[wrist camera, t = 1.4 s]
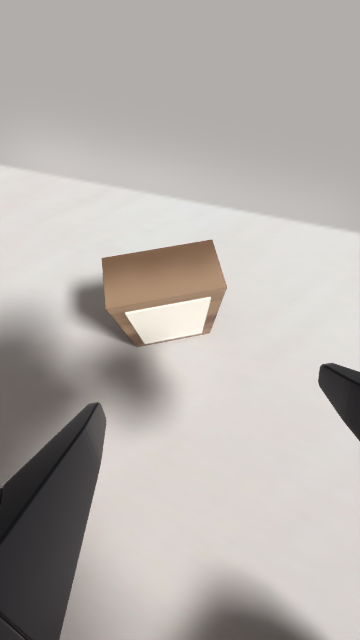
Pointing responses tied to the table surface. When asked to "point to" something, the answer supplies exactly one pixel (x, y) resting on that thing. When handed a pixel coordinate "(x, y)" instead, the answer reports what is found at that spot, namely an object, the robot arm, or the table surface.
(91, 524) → the table surface
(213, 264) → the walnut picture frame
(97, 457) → the robot arm
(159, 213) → the table surface
